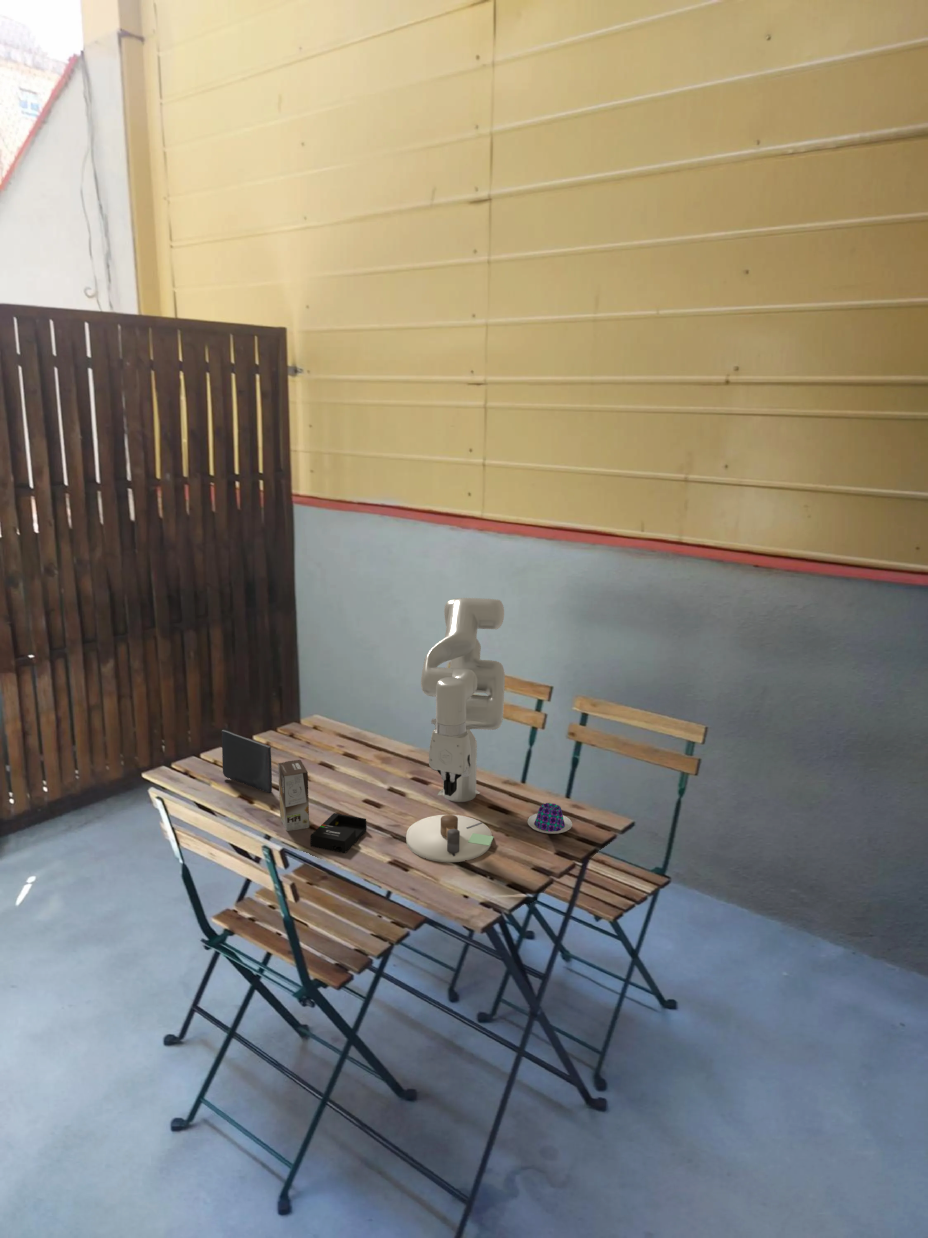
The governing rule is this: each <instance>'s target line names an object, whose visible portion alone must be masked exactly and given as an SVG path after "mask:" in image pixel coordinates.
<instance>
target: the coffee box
mask: <svg viewBox="0 0 928 1238" xmlns="http://www.w3.org/2000/svg"><path fill="white" fill-rule="evenodd" d="M277 766H278V768H277V770H278V791H279V795H278V796H279V813H280V814H279V816H280V820H281V823H282V825H283V827H284V828H285V829H284V830H285V831H286V832H290V831H297V830H303V829H308V828H310V809H309V806H310V804H309V802H310V801H309V775H308V774H309V773H308V770H307V768H306V766H305V765H304V764H303V762H302V760H301V759H295V760H288V761H285V762H284V761H283V762H278V763H277Z"/></svg>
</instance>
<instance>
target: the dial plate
mask: <svg viewBox="0 0 928 1238" xmlns="http://www.w3.org/2000/svg"><path fill="white" fill-rule="evenodd" d="M444 815H445V814H438V815H431V816H428V817H424V818H421V819H419V820H417V821H416V822H414V823H412V824H411V825H410V826H409V827H408V829H407V831H406V833H405V834H406V838H405V839H406V840H405V841H406V842H405V843H406V845H407V847H408V849H409V850H410V851H411V852H412V853H413V854H415V855H417V856H419V858H420V857H421V858H423V859H425V858H426V859H425V860H428V861H432V862H437V863H438V862H440V863H459V862H460V863H461V862H466V861H465V860H467V861H470V860H473V859H476V858H478V857H481V856H482V855H484V854H485V853H487V852H488V851H489V849H490V848H491V846H492V843H493V839H494V838H495V836H493V835H492V831H491V829H490V828H489V827H488V826H487V825H486V824H485V823H483V822H482V821H480V820H478V819H475V818H472V817H469V816H465V815H458V814H453V815H454V816H456V817H457V818H458V830H459V831H460V841H459V852H458V853H449V852H448V851H447V837H445V836H442V835H441V817H442V816H444Z"/></svg>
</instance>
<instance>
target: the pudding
mask: <svg viewBox="0 0 928 1238" xmlns="http://www.w3.org/2000/svg"><path fill="white" fill-rule="evenodd" d="M527 824H528V826H529V827H530V828H532V829H533V830H534V831H537V832H540V833H544V834H561V833H565V832H567V831H569V830H570V829H572V827H573V822H572V820H571V819H570V818H569V817H567V816H566V815H564V814H563V811H562V808H561V806H560V805H558V804H556V803H552V802H546V803H543V804H541V805H540V806H539V809H538V812H537V813H534V814H532V815H530V816H529V818H527Z"/></svg>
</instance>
